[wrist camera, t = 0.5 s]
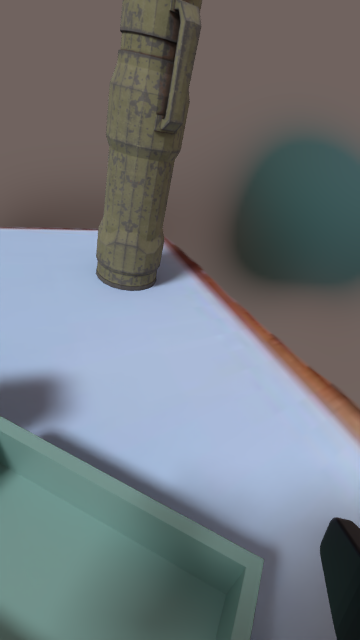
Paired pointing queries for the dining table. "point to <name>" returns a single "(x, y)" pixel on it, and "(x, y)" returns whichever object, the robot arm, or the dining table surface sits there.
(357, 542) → the robot arm
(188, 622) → the tote
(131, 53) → the thermos
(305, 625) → the dining table surface
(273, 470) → the dining table surface
